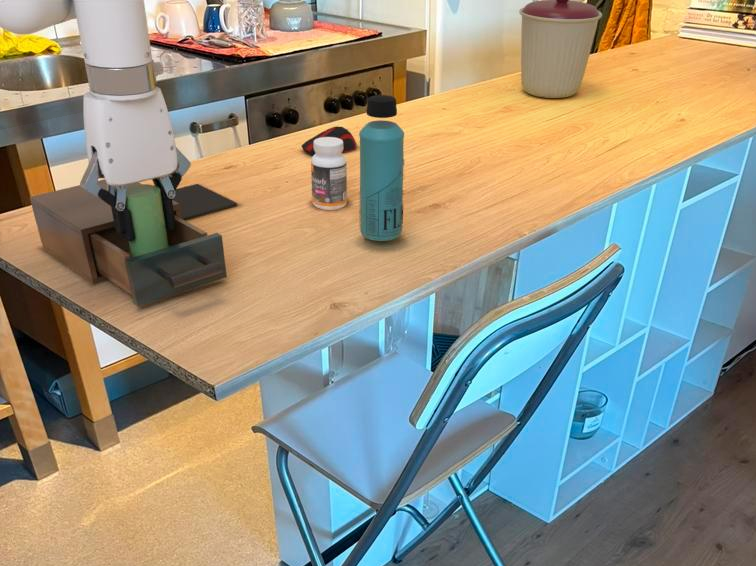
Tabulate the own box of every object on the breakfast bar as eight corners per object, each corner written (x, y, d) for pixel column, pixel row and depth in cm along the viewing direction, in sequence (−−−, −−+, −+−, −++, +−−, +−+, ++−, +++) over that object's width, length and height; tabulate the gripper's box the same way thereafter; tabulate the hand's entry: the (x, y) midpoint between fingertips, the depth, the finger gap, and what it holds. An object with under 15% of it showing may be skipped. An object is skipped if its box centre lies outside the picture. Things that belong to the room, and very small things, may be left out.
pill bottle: (305, 204, 133) (302, 140, 127) (332, 196, 136) (330, 133, 130) (327, 214, 130) (325, 149, 124) (354, 205, 133) (353, 141, 127)
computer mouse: (297, 152, 154) (296, 130, 151) (341, 141, 159) (340, 119, 157) (318, 160, 150) (317, 138, 147) (362, 149, 156) (362, 126, 153)
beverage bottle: (382, 255, 118) (384, 106, 105) (349, 242, 121) (347, 96, 108) (411, 242, 122) (416, 97, 109) (379, 230, 125) (380, 88, 112)
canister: (605, 97, 187) (624, -10, 174) (543, 107, 180) (558, -4, 167) (555, 80, 199) (569, -22, 185) (495, 88, 192) (505, -17, 178)
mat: (173, 224, 126) (172, 220, 125) (134, 203, 132) (134, 199, 132) (237, 206, 132) (237, 203, 132) (197, 187, 139) (197, 183, 138)
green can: (144, 273, 106) (132, 200, 100) (125, 261, 109) (112, 189, 103) (178, 263, 109) (167, 192, 103) (158, 251, 112) (147, 181, 105)
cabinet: (187, 256, 117) (179, 203, 112) (93, 285, 109) (80, 229, 104) (133, 225, 125) (124, 174, 121) (43, 249, 118) (29, 196, 113)
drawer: (246, 288, 107) (241, 245, 103) (156, 319, 100) (147, 274, 96) (170, 244, 118) (164, 204, 114) (85, 269, 111) (75, 228, 107)
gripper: (169, 63, 101) (188, 209, 113) (36, 82, 92) (72, 239, 104) (202, 75, 97) (218, 225, 109) (67, 97, 88) (100, 258, 100)
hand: (146, 230), depth 106 cm, fingers closed on green can, 5 cm apart
